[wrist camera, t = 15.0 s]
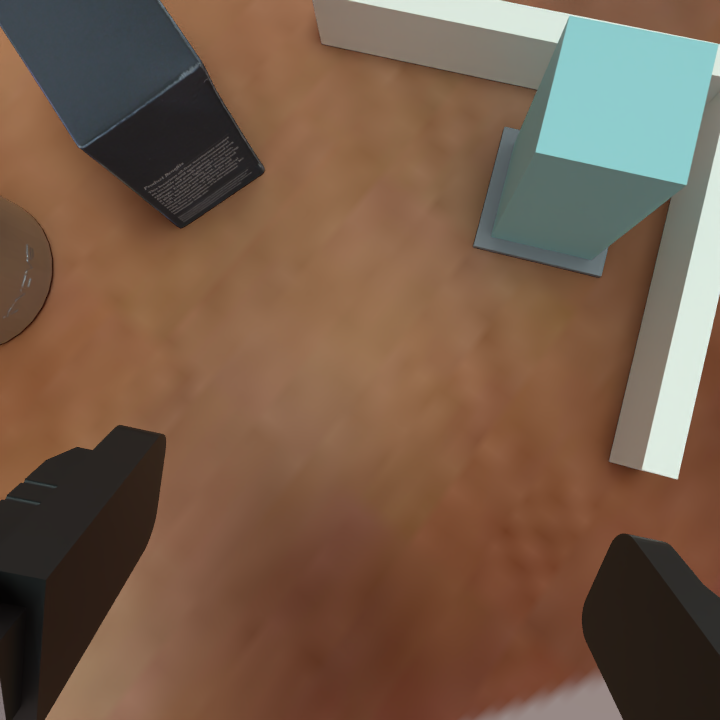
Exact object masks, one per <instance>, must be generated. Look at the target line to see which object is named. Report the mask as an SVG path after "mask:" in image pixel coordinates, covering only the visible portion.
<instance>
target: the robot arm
mask: <svg viewBox="0 0 720 720" xmlns="http://www.w3.org/2000/svg"><path fill="white" fill-rule="evenodd" d="M51 277H52V257H51V252H50V247H49V243H48V241H47V239H46V236H45V234H44V232H43V230H42V228H41V227H40V226H39V224H38V223H37V222H36V220H35V219H34V218H33V217H32V216H31V215H30V214H29V213H28V212H26V211H25V210H24V209H23V208H22V207H20V206H18V205H16V204H14V203H12V202H11V201H9V200H7V199H5V198H3V197H1V196H0V344H2V343H5V342H7V341H8V340H10V339H11V338H13V337H15V336H16V335H18V334H19V333H21V332H22V331H23V330H24V329H25V328H26V327H27V326H28V325H29V324H30V323H31V322H32V321H33V319H34V318H35V316H36V315H37V313H38V312H39V311H40V309H41V308H42V306H43V303H44V301H45V299H46V296H47V294H48V292H49V287H50V282H51ZM165 450H166V437H165V435H164V434H160V433H155V432H151V431H146V430H141V429H137V428H132V427H127V426H123V425H118V426H117V427H115V428H114V429H113V430H112V431H111V432H110V433H109V434H108V435H107V436H106V437H105V438H104V439H103V440H102V441H101V442H100V443H99V444H98V445H97V446H96V447H95V448H94V449H93V450H89V449H84V448H79V447H76V448H74V449H71V450H69V451H66V452H64V453H62V454H59V455H57V456H55V457H52V458H50V459H48V460H46V461H45V462H44V463H42V464H41V465H40V466H39V467H38V468H37V469H36V470H35V471H34V472H32V473H31V474H30V475H29V476H28V477H27V478H26V479H25V482H24V483H20V484H19V485H18V486H17V487H16V488H14V489H13V490H12V491H11V492H10V493H9V494H8V495H7V497H6V499H5V500H1V501H0V720H45V718H46V717H47V715H48V713H49V712H50V710H51V708H52V706H53V705H54V703H55V701H56V700H57V698H58V696H59V695H60V693H61V691H62V690H63V688H64V686H65V684H66V683H67V681H68V679H69V678H70V676H71V674H72V673H73V671H74V669H75V667H76V666H77V664H78V662H79V661H80V659H81V657H82V656H83V654H84V652H85V650H86V649H87V647H88V645H89V644H90V642H91V640H92V639H93V637H94V635H95V633H96V632H97V630H98V628H99V627H100V625H101V623H102V622H103V620H104V618H105V616H106V615H107V613H108V611H109V610H110V608H111V606H112V605H113V603H114V601H115V599H116V598H117V596H118V594H119V593H120V591H121V589H122V588H123V586H124V584H125V582H126V581H127V579H128V577H129V576H130V574H131V572H132V571H133V569H134V567H135V566H136V564H137V562H138V560H139V559H140V557H141V555H142V554H143V552H144V550H145V548H146V546H147V544H148V541H149V539H150V536H151V533H152V530H153V527H154V523H155V519H156V514H157V508H158V500H159V493H160V486H161V479H162V472H163V464H164V457H165ZM582 628H583V634H584V637H585V640H586V642H587V644H588V647H589V649H590V651H591V653H592V655H593V657H594V659H595V661H596V663H597V666H598V668H599V670H600V672H601V674H602V676H603V678H604V680H605V682H606V684H607V686H608V689H609V691H610V693H611V695H612V697H613V699H614V701H615V703H616V705H617V708H618V709H619V712H620V714H621V715H622V718H623V720H720V598H719V597H718V596H717V595H716V594H714V593H713V592H712V591H711V590H709V589H708V588H707V587H706V586H705V585H703V584H702V582H701V581H700V580H699V579H698V578H697V576H696V575H695V574H694V573H693V571H692V570H691V569H690V568H689V567H688V565H687V564H686V563H685V562H684V561H683V559H682V558H681V557H680V556H679V555H678V553H677V552H676V551H675V550H674V549H673V547H672V546H671V545H669V544H668V543H666V542H662V541H658V540H653V539H648V538H644V537H639V536H634V535H630V534H620V535H618V536H617V537H616V538H614V540H613V541H612V543H611V545H610V547H609V549H608V551H607V554H606V556H605V558H604V560H603V562H602V565H601V567H600V569H599V571H598V574H597V576H596V578H595V580H594V582H593V585H592V587H591V589H590V591H589V593H588V596H587V598H586V600H585V603H584V607H583V612H582Z"/></svg>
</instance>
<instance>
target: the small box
mask: <svg viewBox="0 0 720 720" xmlns="http://www.w3.org/2000/svg"><path fill="white" fill-rule="evenodd" d="M0 26H1V28H2V29H3V31H4V33H5V34H6V36H7V37H8V39H9V40H10V42H11V43H12V45H13V46H14V48H15V49H16V51H17V53H18V54H19V56H20V57H21V59H22V60H23V62H24V63H25V65H26V67H27V68H28V70H29V71H30V73H31V74H32V76H33V77H34V79H35V81H36V82H37V84H38V85H39V87H40V88H41V90H42V91H43V93H44V95H45V96H46V98H47V99H48V101H49V102H50V104H51V105H52V107H53V109H54V110H55V112H56V113H57V115H58V116H59V118H60V120H61V121H62V123H63V124H64V126H65V128H66V129H67V131H68V132H69V134H70V135H71V137H72V138H73V140H74V142H75V143H76V145H77V146H78V147H79V148H80V149H82V150H83V151H84V152H86V153H87V154H88V155H89V156H90V157H92V158H93V159H94V160H96V161H97V162H98V163H99V164H101V165H102V166H103V167H104V168H106V169H107V170H108V171H109V172H111V173H112V174H113V175H114V176H116V177H117V178H118V179H119V180H121V181H122V182H123V183H124V184H126V185H127V186H128V187H129V188H131V189H132V190H133V191H134V192H136V193H137V194H138V195H139V196H141V197H142V198H143V199H144V200H145V201H147V202H148V203H149V204H150V205H152V206H153V207H154V208H156V209H157V210H158V211H159V212H160V213H162V214H163V215H164V216H165V217H166V218H168V219H169V220H170V221H171V222H173V223H174V224H175V225H176V226H178V227H179V228H183V227H185V226H186V225H188V224H189V223H191V222H193V221H194V220H195V219H197V218H198V217H200V216H201V215H203V214H204V213H206V212H207V211H209V210H210V209H212V208H213V207H215V206H216V205H218V204H219V203H221V202H222V201H224V200H225V199H226V198H228V197H229V196H231V195H232V194H234V193H235V192H237V191H238V190H239V189H241V188H242V187H244V186H245V185H247V184H248V183H250V182H251V181H253V180H254V179H256V178H257V177H259V176H260V175H261V174H262V173H264V169H265V168H264V166H263V164H262V163H261V162H260V160H259V159H258V157H257V156H256V154H255V153H254V151H253V149H252V148H251V146H250V145H249V143H248V141H247V140H246V138H245V137H244V135H243V133H242V132H241V130H240V129H239V127H238V125H237V124H236V122H235V120H234V119H233V117H232V115H231V114H230V112H229V111H228V109H227V107H226V106H225V104H224V102H223V101H222V99H221V97H220V96H219V94H218V92H217V91H216V89H215V87H214V85H213V83H212V81H211V79H210V77H209V75H208V72H207V70H206V68H205V66H204V65H203V63H202V61H201V60H200V58H199V57H198V55H197V54H196V52H195V51H194V49H193V48H192V46H191V45H190V44H189V42H188V41H187V39H186V38H185V36H184V35H183V33H182V32H181V30H180V29H179V27H178V26H177V24H176V23H175V22H174V20H173V19H172V17H171V16H170V14H169V13H168V12H167V10H166V8H165V7H164V6H163V4H162V3H161V1H160V0H0Z"/></svg>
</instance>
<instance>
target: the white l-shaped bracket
mask: <svg viewBox="0 0 720 720" xmlns="http://www.w3.org/2000/svg"><path fill="white" fill-rule="evenodd" d="M312 1H313V6H314V10H315V15H316V20H317V25H318V29H319V34H320V39H321V44H325V45H329V46H334V47H339V48H343V49H348V50H353V51H358V52H362V53H367V54H372V55H376V56H381V57H386V58H390V59H395V60H400V61H405V62H409V63H414V64H419V65H423V66H428V67H433V68H437V69H442V70H447V71H451V72H456V73H461V74H466V75H470V76H475V77H480V78H484V79H489V80H494V81H498V82H503V83H508V84H513V85H517V86H522V87H527V88H531V89H536V90H538V88H539V85H540V83H541V81H542V78H543V76H544V74H545V71H546V69H547V67H548V64H549V62H550V60H551V57H552V55H553V53H554V50H555V48H556V46H557V43H558V41H559V39H560V36H561V34H562V32H563V30H564V27H565V25H566V23H567V20H568V18H569V16H574V17H579V18H585V19H590V20H595V21H600V22H605V23H610V24H616V23H611V22H606V21H601V20H596V19H591V18H586V17H581V16H576V15H571V14H566V13H561V12H556V11H551V10H546V9H541V8H536V7H531V6H526V5H521V4H516V3H511V2H506V1H501V0H312ZM616 25H621V24H616ZM621 26H626V25H621ZM626 27H631V26H626ZM631 28H636V27H631ZM636 29H641V28H636ZM641 30H646V29H641ZM647 31H651V30H647ZM652 32H656V31H652ZM657 33H661V32H657ZM662 34H666V33H662ZM667 35H671V34H667ZM672 36H676V35H672ZM678 37H681V36H678ZM683 38H686V37H683ZM688 39H691V38H688ZM693 40H696V39H693ZM698 41H701V40H698ZM703 42H706V41H703ZM709 43H711V42H709ZM714 44H716V43H714ZM519 132H520V130H517V129H513V128H508V127H504V130H503V134H502V138H501V142H500V146H499V149H498V153H497V157H496V161H495V165H494V168H493V172H492V176H491V180H490V184H489V188H488V191H487V195H486V199H485V203H484V207H483V211H482V214H481V218H480V222H479V226H478V230H477V233H476V237H475V241H474V245H473V247H474V248H478V249H483V250H487V251H491V252H495V253H499V254H503V255H507V256H512V257H516V258H520V259H524V260H528V261H532V262H536V263H541V264H545V265H549V266H553V267H557V268H561V269H565V270H570V271H574V272H578V273H582V274H586V275H590V276H594V277H598V278H600V277H601V275H602V271H603V267H604V263H605V259H606V255H607V251H608V247H607V248H606V249H605V250H603V251H602V252H601V253H600V254H598V255H597V256H596V257H595V258H593V259H592V260H589V259H584V258H580V257H576V256H571V255H567V254H563V253H559V252H554V251H550V250H546V249H541V248H537V247H533V246H529V245H524V244H520V243H516V242H511V241H507V240H503V239H498V238H494V237H491V234H492V230H493V226H494V222H495V218H496V215H497V211H498V207H499V203H500V199H501V195H502V191H503V187H504V183H505V179H506V175H507V171H508V167H509V163H510V159H511V155H512V151H513V147H514V143H515V141H516V139H517V136H518V134H519ZM719 294H720V44H719V45H718V50H717V54H716V58H715V63H714V67H713V71H712V76H711V80H710V85H709V89H708V93H707V98H706V102H705V107H704V111H703V115H702V120H701V124H700V129H699V133H698V137H697V142H696V146H695V150H694V155H693V159H692V164H691V168H690V172H689V177H688V181H687V185H686V186H685V187H684V188H682V189H681V190H680V191H678V192H677V193H676V194H675V195H673V196H672V197H671V201H670V205H669V209H668V213H667V218H666V222H665V226H664V230H663V235H662V239H661V243H660V247H659V251H658V256H657V260H656V264H655V268H654V273H653V277H652V281H651V285H650V290H649V294H648V298H647V302H646V306H645V311H644V315H643V319H642V323H641V328H640V332H639V336H638V340H637V345H636V349H635V353H634V357H633V361H632V366H631V370H630V374H629V378H628V383H627V387H626V391H625V395H624V399H623V404H622V408H621V412H620V416H619V421H618V425H617V429H616V433H615V438H614V442H613V446H612V450H611V454H610V459H609V462H612V463H616V464H619V465H623V466H627V467H630V468H634V469H638V470H642V471H646V472H650V473H654V474H658V475H662V476H666V477H670V478H674V479H678V475H679V470H680V466H681V462H682V457H683V453H684V448H685V444H686V440H687V435H688V431H689V426H690V422H691V418H692V413H693V409H694V404H695V400H696V395H697V391H698V387H699V382H700V378H701V373H702V369H703V365H704V360H705V356H706V351H707V347H708V343H709V338H710V334H711V329H712V325H713V321H714V316H715V312H716V307H717V303H718V299H719Z"/></svg>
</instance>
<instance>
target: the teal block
mask: <svg viewBox="0 0 720 720" xmlns="http://www.w3.org/2000/svg"><path fill="white" fill-rule="evenodd" d="M718 45H719V44H714V43H709V42H703V41H698V40H693V39H688V38H683V37H678V36H672V35H667V34H662V33H657V32H652V31H647V30H641V29H636V28H631V27H626V26H621V25H616V24H610V23H605V22H600V21H595V20H590V19H585V18H579V17H574V16H569V18H568V20H567V23H566V25H565V27H564V30H563V32H562V34H561V36H560V39H559V41H558V43H557V46H556V48H555V50H554V53H553V55H552V57H551V60H550V62H549V64H548V67H547V69H546V71H545V74H544V76H543V78H542V81H541V83H540V85H539V88H538V90H537V92H536V94H535V97H534V99H533V101H532V104H531V106H530V108H529V111H528V113H527V115H526V118H525V120H524V122H523V125H522V127H521V129H520V132H519V134H518V136H517V139H516V141H515V143H514V147H513V151H512V155H511V159H510V163H509V167H508V171H507V175H506V179H505V183H504V187H503V191H502V195H501V199H500V203H499V207H498V211H497V215H496V218H495V222H494V226H493V230H492V234H491V237H494V238H498V239H503V240H507V241H511V242H516V243H520V244H524V245H529V246H533V247H537V248H541V249H546V250H550V251H554V252H559V253H563V254H567V255H571V256H576V257H580V258H584V259H589V260H592V259H593V258H595V257H596V256H597V255H598V254H600V253H601V252H602V251H603V250H605V249H606V248H607V247H609V246H610V245H611V244H612V243H614V242H615V241H616V240H617V239H619V238H620V237H621V236H623V235H624V234H625V233H626V232H628V231H629V230H630V229H631V228H633V227H634V226H635V225H636V224H638V223H639V222H640V221H642V220H643V219H644V218H645V217H647V216H648V215H649V214H650V213H652V212H653V211H654V210H656V209H657V208H658V207H659V206H661V205H662V204H663V203H664V202H666V201H667V200H668V199H670V198H671V197H672V196H673V195H675V194H676V193H677V192H678V191H680V190H681V189H682V188H684V187H685V186H686V185H687V181H688V177H689V172H690V168H691V164H692V159H693V155H694V150H695V146H696V142H697V137H698V133H699V129H700V124H701V120H702V115H703V111H704V107H705V102H706V98H707V93H708V89H709V85H710V80H711V76H712V71H713V67H714V63H715V58H716V54H717V50H718Z"/></svg>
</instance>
